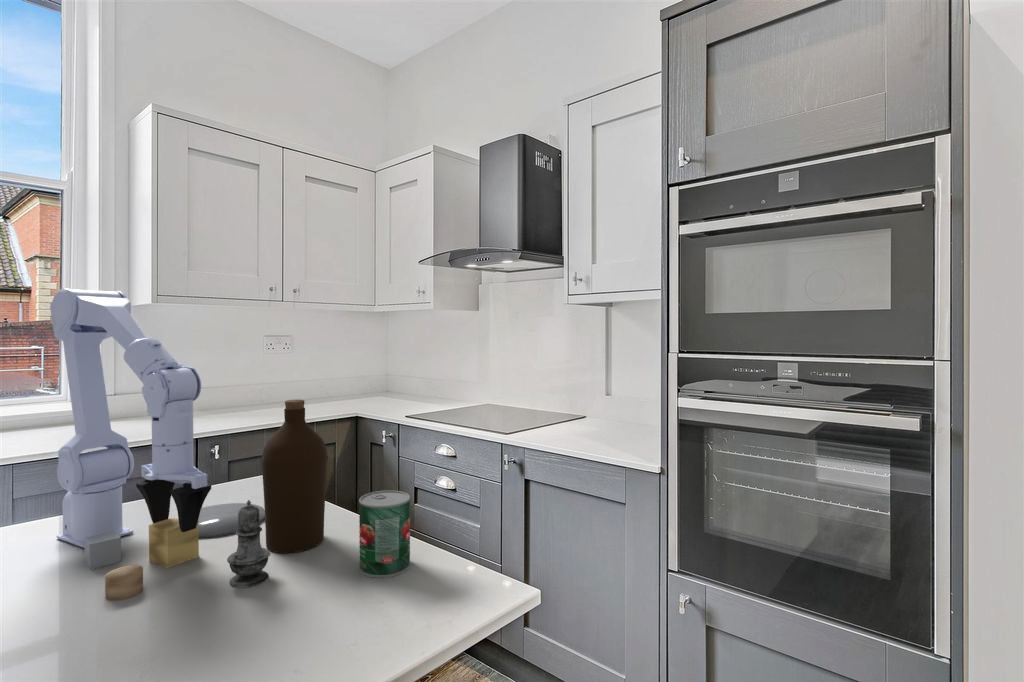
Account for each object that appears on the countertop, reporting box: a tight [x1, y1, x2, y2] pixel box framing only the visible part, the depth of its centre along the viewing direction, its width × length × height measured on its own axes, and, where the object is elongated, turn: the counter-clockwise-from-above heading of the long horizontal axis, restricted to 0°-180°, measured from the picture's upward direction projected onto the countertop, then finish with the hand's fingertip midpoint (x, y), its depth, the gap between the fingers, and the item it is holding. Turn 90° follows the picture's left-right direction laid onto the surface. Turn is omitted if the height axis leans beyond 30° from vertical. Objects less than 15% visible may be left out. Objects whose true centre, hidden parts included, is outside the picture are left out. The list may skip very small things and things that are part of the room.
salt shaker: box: [226, 499, 271, 589], centre depth 82 cm, size 6×6×12 cm
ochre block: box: [148, 515, 200, 569], centre depth 89 cm, size 5×5×6 cm
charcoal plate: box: [198, 502, 265, 539], centre depth 105 cm, size 16×16×1 cm
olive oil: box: [261, 399, 328, 554], centre depth 95 cm, size 11×11×25 cm
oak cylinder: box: [104, 564, 144, 601], centre depth 78 cm, size 4×4×3 cm
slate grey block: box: [83, 531, 122, 570], centre depth 88 cm, size 4×4×4 cm
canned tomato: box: [358, 489, 411, 579], centre depth 86 cm, size 8×8×11 cm
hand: (174, 525), depth 89 cm, fingers open, 7 cm apart
